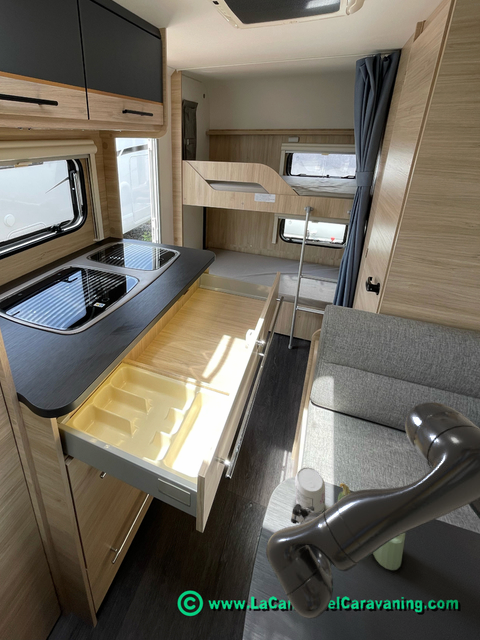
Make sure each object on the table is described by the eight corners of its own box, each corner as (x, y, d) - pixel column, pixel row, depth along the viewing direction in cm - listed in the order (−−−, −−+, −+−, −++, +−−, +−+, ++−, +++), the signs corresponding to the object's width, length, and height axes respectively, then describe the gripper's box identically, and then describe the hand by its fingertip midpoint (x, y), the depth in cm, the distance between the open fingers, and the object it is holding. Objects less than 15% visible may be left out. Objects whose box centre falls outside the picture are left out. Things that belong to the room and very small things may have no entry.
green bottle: (403, 553, 86) (409, 513, 81) (397, 578, 82) (403, 537, 76) (376, 535, 91) (379, 496, 85) (369, 558, 86) (372, 519, 81)
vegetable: (356, 532, 92) (359, 485, 85) (350, 545, 90) (352, 498, 83) (340, 520, 95) (342, 474, 88) (334, 533, 93) (335, 486, 86)
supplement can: (293, 499, 103) (291, 466, 97) (319, 497, 102) (319, 464, 97) (300, 528, 95) (299, 494, 90) (328, 527, 94) (329, 492, 89)
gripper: (359, 539, 62) (366, 519, 74) (286, 501, 70) (303, 488, 82) (353, 586, 60) (361, 557, 72) (279, 541, 68) (297, 522, 80)
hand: (330, 520), depth 77 cm, fingers open, 8 cm apart
